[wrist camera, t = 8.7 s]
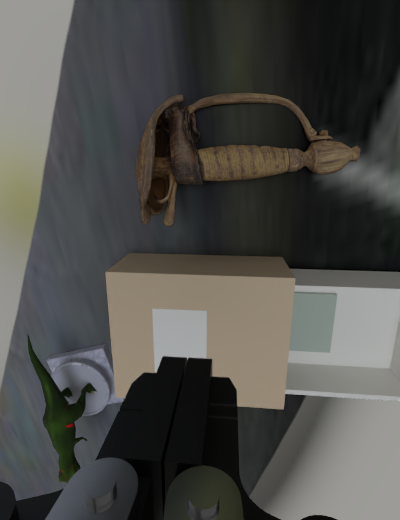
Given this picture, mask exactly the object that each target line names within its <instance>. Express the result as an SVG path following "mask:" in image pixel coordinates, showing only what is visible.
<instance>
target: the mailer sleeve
mask: <svg viewBox="0 0 400 520" xmlns="http://www.w3.org/2000/svg"><path fill="white" fill-rule="evenodd" d="M105 274H106V286H107V298H108V310H109V322H110V334H111V347H112V359H113V371H114V383H115V395H116V398H125V397H126V395H127V393H128V390H129V388H130V386H131V384H132V383H133V382H134V381H135V380H136V379H137V378H138V377H139V376H141V375H142V374H143V373H144V372H147V373H157V370H158V367H159V365H160V362H161V359H162V357H163V356H170V357H187V360H188V358H206V359H212V376H213V377H229V378H230V380H231V381H232V383H233V385H234V386H235V388H236V390H237V406H242V407H256V408H271V409H284V401H285V390H286V379H287V368H288V356H289V345H290V334H291V323H292V312H293V301H294V290H295V279H296V278H295V276H294V275H293V273H292V272H291V270H290V268H289V267H288V265H287V264H286V262H285V260H284V259H283V257H263V256H226V255H188V254H151V253H129V254H128V255H126V256H125V257H124V258H123V259H121V260H120V261H119V262H117V263H116V264H115V265H114V266H112V267H111V268H110V269H108V270H107V271H106V272H105Z"/></svg>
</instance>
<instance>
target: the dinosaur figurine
mask: <svg viewBox="0 0 400 520" xmlns="http://www.w3.org/2000/svg"><path fill="white" fill-rule="evenodd" d="M28 349H29V355H30V358H31V361H32V364H33V366H34V368H35V371H36V373H37V375H38V377H39V379H40V381H41V385H42V389H43V393H44V397H45V402H46V409H45V414H44V416H43V424H44V426H45V428H46V429H47V431H48V433H49V436H50V438H51V441H52V444H53V446H54V448H55V449H56V451H57V452H58V454H59V468H60V472H59V481H60V482H66V483H68V482H69V480H70V479H71V478H72V476H73V475H74V474H75V473H76V472H77V471H79V470H80V465H79V463H78V462H77V460H76V458H75V455H74V450H73V449H74V446H75V444H76V443H77V442H79V441H80V440H81V439H84V440H85V441H87V440H86V438H83V437H80V438H76V439H75V433H76V428H75V424H74V422H75V421H76V420H77V419H79V418H80V417H81V416H91V415H94V414H97V413H99V412H100V411H102V410H103V409H104V408H105V406H106V405H107V404H113V403H118V402H123V401H124V399H125V398H116V395H115V383H114V371H113V360H112V357H111V355H110V352H109V349H108V347H107V344H102V345H98V346H93V347H88V348H84V349H79V350H74V351H70V352H65V353H60V354H56V355H51V356H50V357H49V358H48V359H47V362H48V365H49V367H50V369H51V371H52V374H51V376H50V374H49V373H48V372H47V370H46V369H45V368H44V366H43V365H42V363H41V362H40V361H39V359H38V358H37V356H36V355H35V353H34V351H33V349H32V346H31V342H30V339H29V336H28Z"/></svg>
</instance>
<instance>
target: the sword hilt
mask: <svg viewBox="0 0 400 520" xmlns="http://www.w3.org/2000/svg"><path fill="white" fill-rule="evenodd" d="M181 101H183V95H175V96H172V97H169V99H167V100H166V101H165V102H164V103H162V104H161V105H160V106H159V107H158V108H157V109H156V110H155V111H154V112H153V113H152V115H151V117H150V119H149V121H148V123H147V125H146V128H145V130H144V133H143V136H142V138H141V141H140V145H139V148H138V153H137V163H136V178H137V188H138V193H139V195H140V199H139V202H140V206H141V214H140V215H141V222H142V223H144V224H146V223H148V222H149V220H150V217H151V215H158V214H161V212H162V211H163V210H164V208H165V205H166V201H167V202H168V205H167V210H166V213H165V217H164V221H163V223H164V225H166V226H172V225H173V223H174V218H175V199H176V189H177V183H178V184H189V185H199V184H203V181H230V180H247V179H254V178H261V177H265V176H272V175H276V174H282V173H284V172H293V171H297V170H299V169H301V168H302V167H304V166H307V167H308V168H309V170H310V171H312V172H314V173H317V174H330V173H335V172H337V171H339V170H341V169H342V168H343V167H344V166H345V165H346V164H347V163H348V162H349V160H351V159H352V160H353V161H355V162H356V161H357V160H358V159H359V157H360V148H359V147H358V146H357V145H356V146H355V147H353V148H350V147H348V146H347V145H345V144H343V143H341V142H336V141H334V140H333V138H332V137H331V136H328V130H321V132H319V134H320V136H316V133H317V132H316V131H315V130H314V129H313V128H312V127H311V125H310V123H309V121H308V119H307V118H306V116H305V115H304V114H303V112H302V111H301V109H300V108H299V107H298V106H297V105H296V104H294V103H293V102H292V101H290V100H288V99H285V98H282V97H279V96H276V95H268V94H255V93H229V94H220V95H215V96H211V97H206V98H202V99H200V100H199V101H197V102H195V103H194V104H192V105H190V106H187V105H185V106H182V107H181V108H180V107H179V106H177V103H178V102H181ZM234 103H275V104H281V105H284V106H286V107H288V108H289V109H290V110H291V111H293V112H294V113H295V114H296V116H297V117H298V118H299V120H300V122H301V124H302V126H303V128H304V131H305V134H306V137H307V139H308V140H309V142H311V144H310V146H309V147H308V149H307V151H306V152H303V151H301V150H299V149H287V148H277V147H271V146H256V145H246V146H245V145H227V146H216V147H209V148H203V149H199V150H197V148H196V144H195V143H197V141H198V140H199V138H200V132H199V131H198V130H197V127H196V117H195V114H194V112H195V111H196V110H197V109H199V108H203V107H206V106H210V105H216V104H234ZM167 109H168V115H166V116H165V111H166V110H167ZM190 114H191V115H190ZM190 123H191V126H190ZM169 144H170V147H169ZM168 147H169V149H168ZM168 186H169V187H168Z"/></svg>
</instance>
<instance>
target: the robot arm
mask: <svg viewBox="0 0 400 520" xmlns="http://www.w3.org/2000/svg"><path fill="white" fill-rule="evenodd" d="M0 520H280V519H278V518H276V517H274V516H272V515H270V514H268V513H266V512H264V511H263V510H262V509H260V508H259V507H258V506H256V504H255V503H254V502H252V500H251V499H250V498H249V496H248V495H247V493H246V492H245V490H244V488H243V486H242V483H241V480H240V475H239V450H238V415H237V390H236V388H235V386H234V385H233V383H232V381H231V380H230V378H229V377H213V376H212V359H206V358H188V360H187V357H170V356H163V357H162V359H161V362H160V365H159V367H158V370H157V373H147V372H144V373H143V374H142V375H141V376H139V377H138V378H137V379H136V380H135V381H134V382H133V383H132V384H131V386H130V388H129V390H128V393H127V395H126V397H125V399H124V401H123V403H122V405H121V407H120V411H119V412H118V414H117V416H116V418H115V420H114V422H113V424H112V426H111V428H110V431H109V433H108V435H107V437H106V439H105V441H104V443H103V445H102V448H101V450H100V452H99V454H98V456H97V458H96V460H95V461H93V462H91V463H89V464H87V465H85V466H84V467H82V468H81V469H80V470H79V471H77V472H76V473H75V474H74V475H73V476H72V478H71V479H70V480H69V482H68V483H67V485H66V486H65V488H64V489H62V490H59V491H57V492H53V493H50V494H45V495H41V496H37V497H32V498H28V499H23V500H19V501H16V498H15V494H14V491H13V490H12V488H11V487H10V486H9V485H8V484H6V483H3V482H0ZM301 520H337V519H334V518H331V517H328V516H323V515H313V516H308V517H306V518H303V519H301Z"/></svg>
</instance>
